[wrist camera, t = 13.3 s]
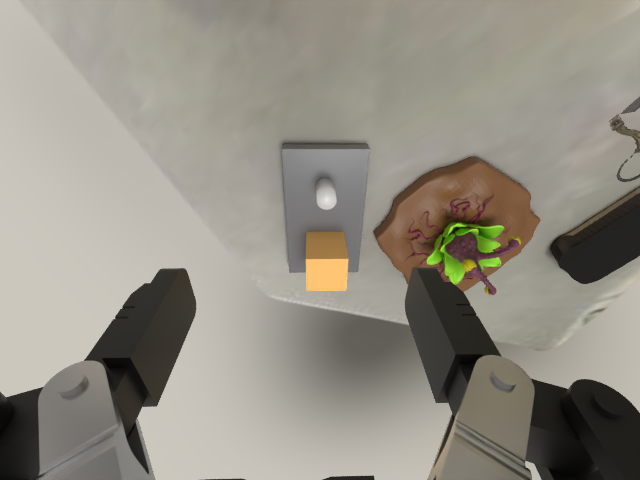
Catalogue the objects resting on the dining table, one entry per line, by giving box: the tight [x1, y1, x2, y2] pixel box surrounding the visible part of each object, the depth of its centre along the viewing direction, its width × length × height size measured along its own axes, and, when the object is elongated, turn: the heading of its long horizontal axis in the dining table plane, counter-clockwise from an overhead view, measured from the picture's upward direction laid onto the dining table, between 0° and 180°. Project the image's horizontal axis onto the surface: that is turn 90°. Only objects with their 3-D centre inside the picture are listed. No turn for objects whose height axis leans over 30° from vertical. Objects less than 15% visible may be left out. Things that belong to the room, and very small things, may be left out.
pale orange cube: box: [306, 232, 348, 291], centre depth 39 cm, size 5×5×6 cm
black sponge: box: [552, 187, 640, 284], centre depth 42 cm, size 16×8×4 cm, turn 138°
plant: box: [374, 157, 540, 295], centre depth 39 cm, size 20×20×11 cm
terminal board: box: [282, 144, 370, 273], centre depth 39 cm, size 18×10×6 cm, turn 0°
